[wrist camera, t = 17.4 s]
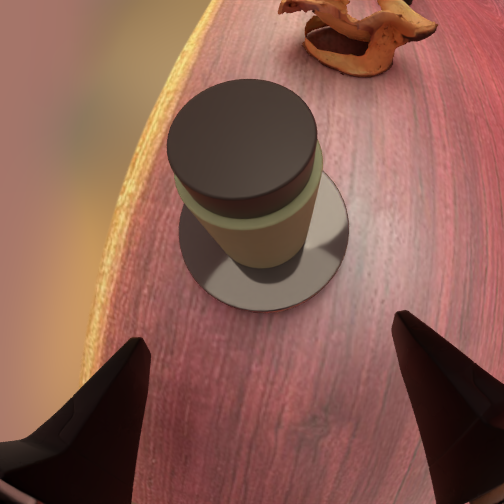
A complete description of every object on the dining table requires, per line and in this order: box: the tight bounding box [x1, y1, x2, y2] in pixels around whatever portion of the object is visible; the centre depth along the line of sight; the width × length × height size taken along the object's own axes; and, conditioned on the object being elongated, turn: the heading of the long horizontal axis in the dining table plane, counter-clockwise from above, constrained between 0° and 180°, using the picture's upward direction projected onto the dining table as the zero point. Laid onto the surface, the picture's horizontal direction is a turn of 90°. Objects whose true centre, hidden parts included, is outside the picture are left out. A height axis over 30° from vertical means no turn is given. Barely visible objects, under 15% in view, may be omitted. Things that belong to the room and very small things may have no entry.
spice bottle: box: [167, 79, 323, 268], centre depth 12 cm, size 5×5×8 cm
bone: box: [278, 0, 438, 77], centre depth 16 cm, size 12×10×8 cm
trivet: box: [179, 171, 349, 313], centre depth 16 cm, size 9×9×2 cm
